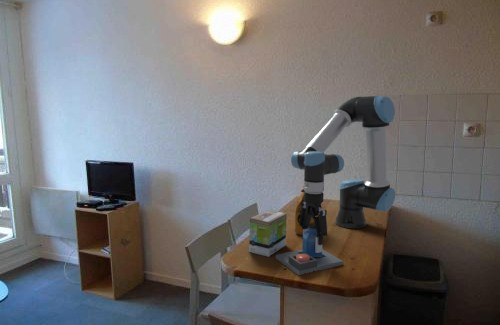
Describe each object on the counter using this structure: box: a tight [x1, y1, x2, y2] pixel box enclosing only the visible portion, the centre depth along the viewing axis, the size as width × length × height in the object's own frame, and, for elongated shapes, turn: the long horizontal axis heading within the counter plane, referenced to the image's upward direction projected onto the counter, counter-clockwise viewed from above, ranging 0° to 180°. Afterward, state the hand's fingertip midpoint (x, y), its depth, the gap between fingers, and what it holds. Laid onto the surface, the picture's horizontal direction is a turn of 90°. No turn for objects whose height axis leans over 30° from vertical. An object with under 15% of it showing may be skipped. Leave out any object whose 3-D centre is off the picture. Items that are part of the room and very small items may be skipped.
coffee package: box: [294, 185, 315, 236], centre depth 167 cm, size 10×12×22 cm
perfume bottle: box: [301, 223, 322, 258], centre depth 137 cm, size 6×6×12 cm
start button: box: [296, 254, 310, 262], centre depth 128 cm, size 5×5×2 cm
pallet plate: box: [275, 248, 344, 276], centre depth 134 cm, size 20×16×4 cm
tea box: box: [248, 209, 288, 258], centre depth 146 cm, size 15×10×15 cm
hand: (312, 248), depth 137 cm, fingers closed on perfume bottle, 8 cm apart
